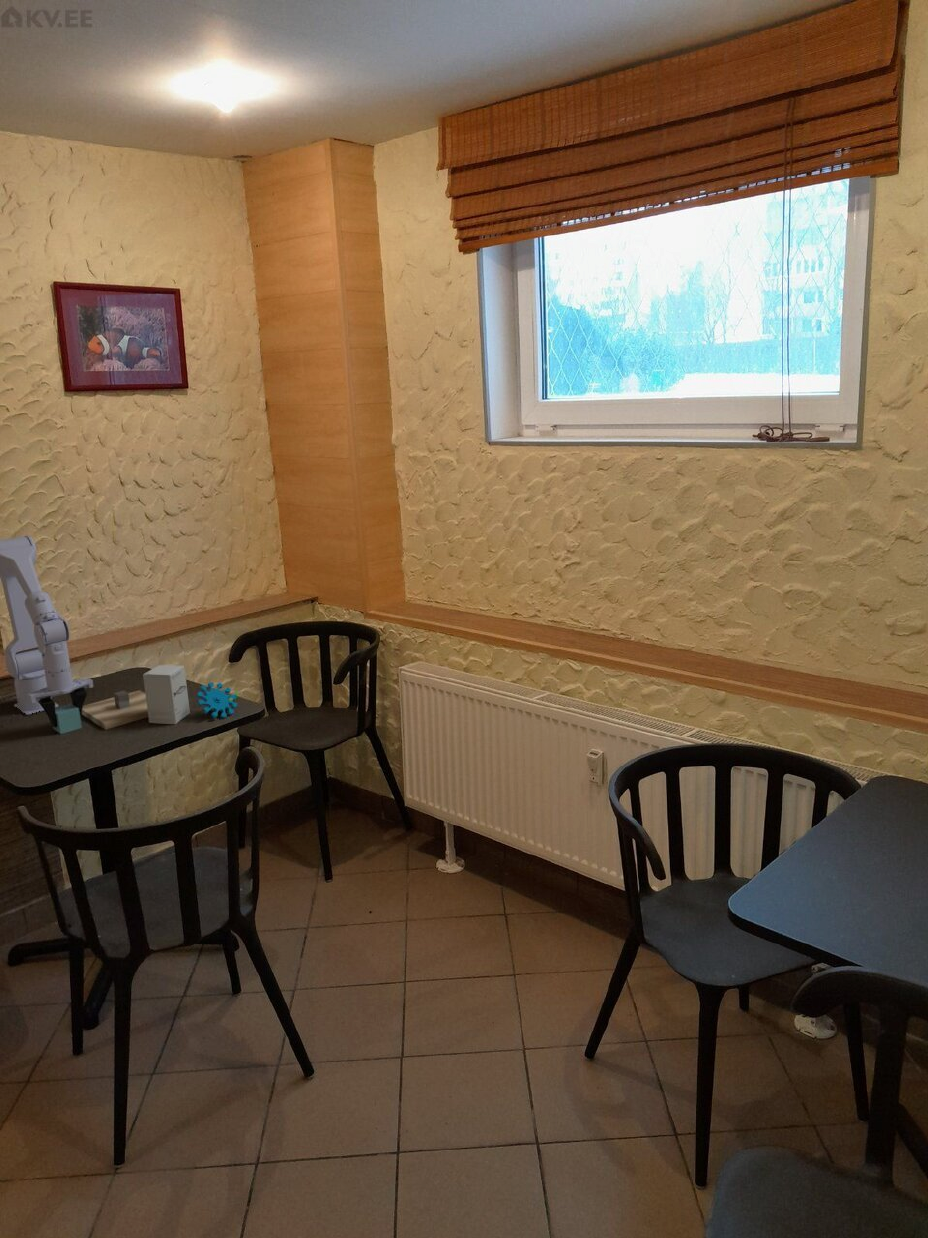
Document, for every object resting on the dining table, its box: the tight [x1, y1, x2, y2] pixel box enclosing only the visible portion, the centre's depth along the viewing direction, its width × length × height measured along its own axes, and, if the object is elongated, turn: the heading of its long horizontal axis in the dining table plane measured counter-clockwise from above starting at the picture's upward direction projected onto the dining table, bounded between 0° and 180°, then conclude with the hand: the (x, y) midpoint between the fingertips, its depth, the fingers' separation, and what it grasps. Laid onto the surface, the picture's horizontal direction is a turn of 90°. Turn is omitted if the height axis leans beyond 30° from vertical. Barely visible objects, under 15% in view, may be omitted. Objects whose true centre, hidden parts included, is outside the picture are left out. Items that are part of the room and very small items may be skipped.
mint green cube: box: [52, 702, 83, 735], centre depth 224 cm, size 5×5×5 cm
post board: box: [81, 690, 149, 730], centre depth 234 cm, size 16×16×5 cm
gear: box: [196, 681, 240, 719], centre depth 231 cm, size 11×6×10 cm
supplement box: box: [142, 664, 191, 725], centre depth 227 cm, size 7×7×13 cm
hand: (66, 722), depth 225 cm, fingers closed on mint green cube, 5 cm apart
